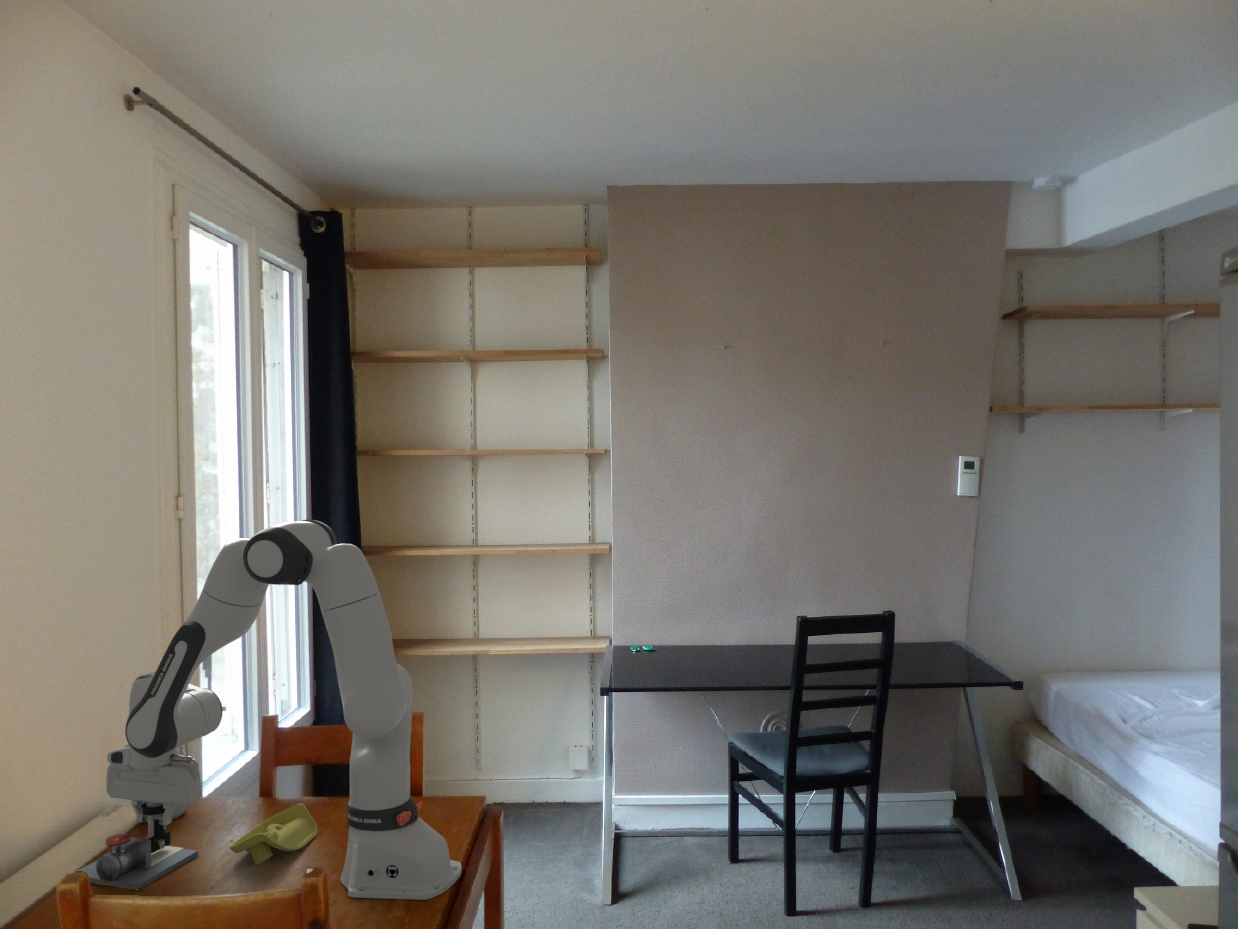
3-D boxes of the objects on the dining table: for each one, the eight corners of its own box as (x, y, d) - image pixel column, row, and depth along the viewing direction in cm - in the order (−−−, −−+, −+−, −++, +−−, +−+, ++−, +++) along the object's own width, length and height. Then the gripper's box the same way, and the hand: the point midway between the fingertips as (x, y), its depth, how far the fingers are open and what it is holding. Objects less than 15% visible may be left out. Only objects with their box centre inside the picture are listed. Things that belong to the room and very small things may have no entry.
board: (198, 855, 173) (198, 850, 173) (137, 890, 158) (137, 884, 158) (134, 846, 177) (134, 841, 177) (68, 880, 162) (68, 874, 162)
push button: (151, 858, 167) (152, 807, 167) (129, 856, 168) (129, 804, 168) (177, 844, 173) (177, 794, 173) (155, 842, 174) (156, 792, 175)
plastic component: (265, 820, 185) (306, 799, 185) (279, 852, 184) (321, 831, 184) (219, 853, 165) (266, 829, 165) (235, 889, 164) (282, 865, 165)
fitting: (150, 870, 165) (151, 832, 165) (124, 884, 159) (124, 845, 159) (117, 865, 167) (117, 828, 167) (89, 879, 161) (89, 841, 161)
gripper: (209, 752, 171) (209, 822, 171) (126, 744, 177) (126, 812, 176) (185, 762, 165) (185, 834, 165) (100, 753, 171) (100, 824, 170)
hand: (154, 823), depth 171 cm, fingers closed on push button, 4 cm apart
